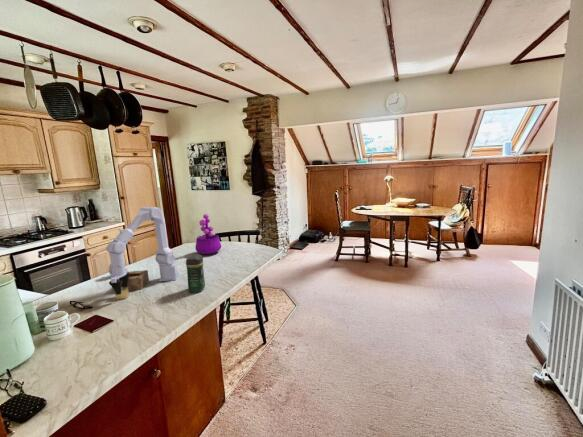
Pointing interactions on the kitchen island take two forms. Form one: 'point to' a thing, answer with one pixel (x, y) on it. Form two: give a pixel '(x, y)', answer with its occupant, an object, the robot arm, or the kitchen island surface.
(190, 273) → the coffee jar
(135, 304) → the kitchen island surface
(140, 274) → the brown square open block
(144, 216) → the robot arm
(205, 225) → the decorative plant
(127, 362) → the kitchen island surface
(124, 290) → the wooden block
